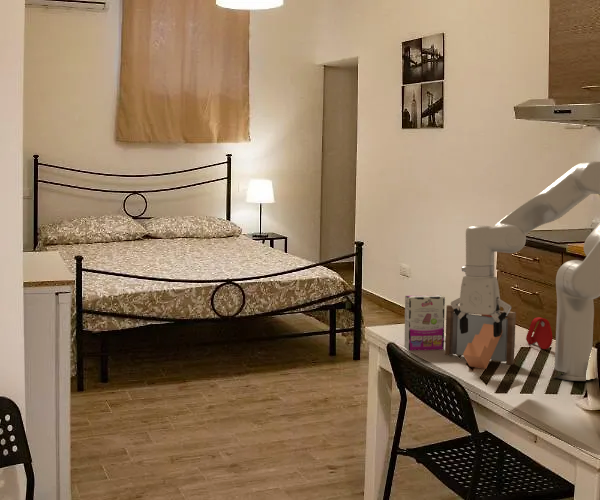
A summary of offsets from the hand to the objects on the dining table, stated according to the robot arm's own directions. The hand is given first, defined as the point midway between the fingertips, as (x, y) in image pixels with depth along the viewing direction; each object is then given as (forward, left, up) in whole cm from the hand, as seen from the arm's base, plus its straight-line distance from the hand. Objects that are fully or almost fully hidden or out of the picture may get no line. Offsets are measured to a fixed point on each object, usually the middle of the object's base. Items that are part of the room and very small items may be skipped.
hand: (480, 334), depth 227 cm
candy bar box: (+24, -12, -9) cm, 29 cm away
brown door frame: (+6, -11, -9) cm, 15 cm away
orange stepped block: (+1, -5, -5) cm, 7 cm away
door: (+13, -11, -9) cm, 20 cm away
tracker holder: (-1, -38, -10) cm, 39 cm away
